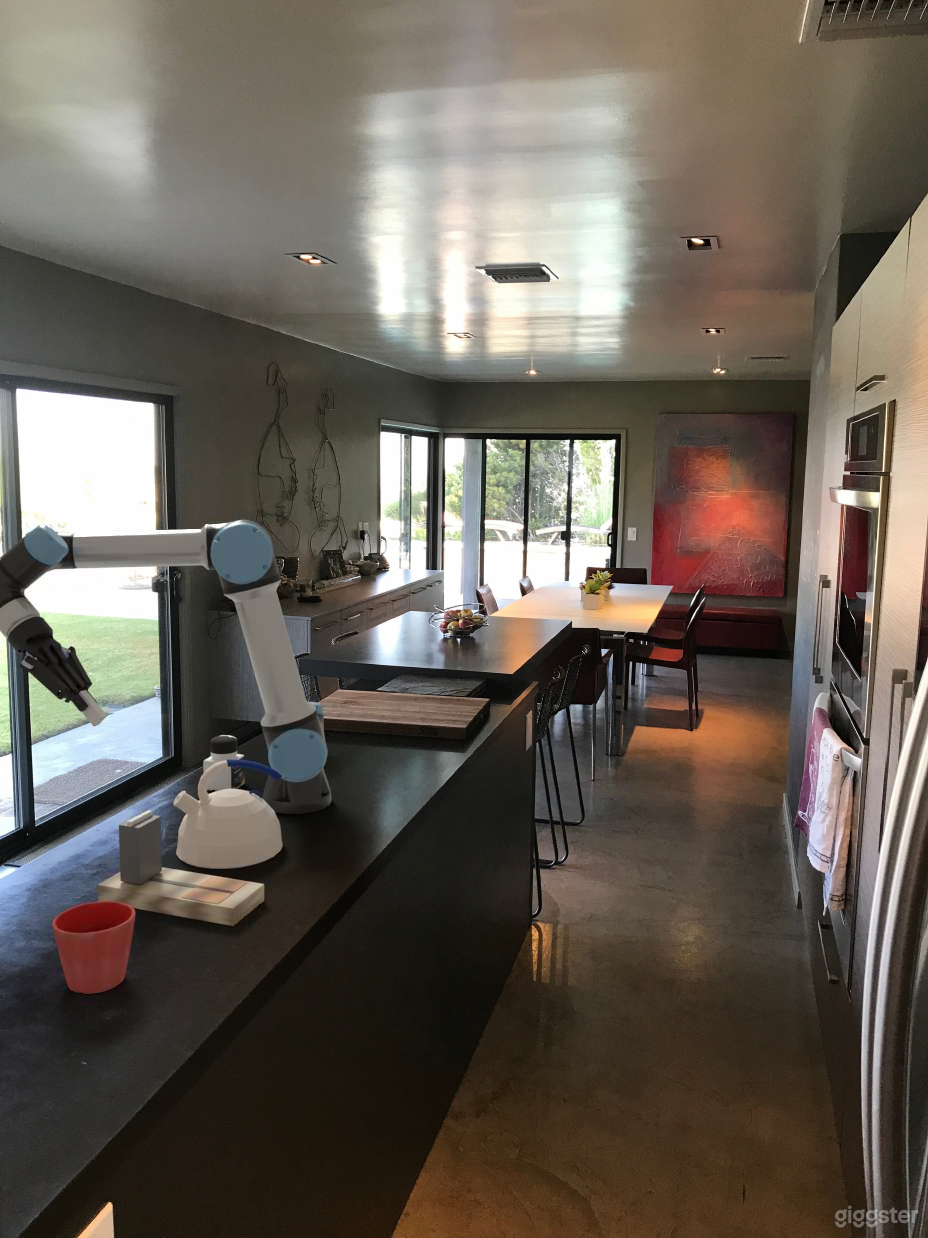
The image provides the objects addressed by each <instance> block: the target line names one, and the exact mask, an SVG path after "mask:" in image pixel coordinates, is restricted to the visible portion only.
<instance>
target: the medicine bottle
mask: <svg viewBox="0 0 928 1238" xmlns="http://www.w3.org/2000/svg"><path fill="white" fill-rule="evenodd" d="M224 760H245V755H244V754H240V753H238V738H237V737H235V736H233V735H229V734H227V735H225V734H222V735H217V736H215V737H212V738H211V739H210V756H209V757H208V758H205V759H204V760H203V761H202V762H203V773H204V772H205V771H206V770H207V769H208V768H209V767H211V766H212V765H213V764H215V763H218V762H221V761H224ZM245 779H246V778H245V767H225V768H221V769H219V770H218V771H216V772H215V773H213V774H212V776H211V777H210V779H209V780H208V783H207V791H212V790H215V791H214V792H216V791H220V790H223V789H239V788H240V787H241V786H243V785H244V784H245Z"/></svg>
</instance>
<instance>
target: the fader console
mask: <svg viewBox="0 0 928 1238" xmlns="http://www.w3.org/2000/svg"><path fill="white" fill-rule="evenodd" d="M97 891H98V892H97V895H98V896H97V897H98V898H97V900H98V901H97V902H100V901H114V902H121V903H125V904H128V905H130V906H131V907H133V908H134V909H136V910H142V911H143V910H144V911H148V912H154V913H159V914H165V915H170V916H174V917H182V918H186V919H192V920H198V921H203V922H209V923H215V924H221V925H226V926H231V927H234V926H235V925H236V924H238V923H239V922H240V921H241V920H242V919H244V918H245V917H246V916H247V915H249V914H250V913H251V912H252V911H253V910H255V909H256V908H257V907H258V906H259V904H260V905H261V904H262V903H263V902H264V901H265V884H264V883H260V882H254V881H248V880H247V881H246V880H242V879H235V878H229V877H223V876H217V875H212V874H211V875H210V874H206V873H205V874H204V873H200V872H199V873H198V872H194V871H193V872H192V871H186V870H181V869H176V868H175V869H174V868H170V867H169V868H168V867H163V866H162V871H161V872H160V873H158V874H156V875H155V876H153V877H152V878H150V879H148V880H147V881H145V882H144V883H142V884H141V885H140V884H134V883H129V882H123V881H120V871H118V872H117V873H115V874H114V875H113V876H110V877H109V878H107V879H105V880H103V881H102V882H100V883H99V884H97ZM254 908H255V909H254ZM244 916H245V917H244Z"/></svg>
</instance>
